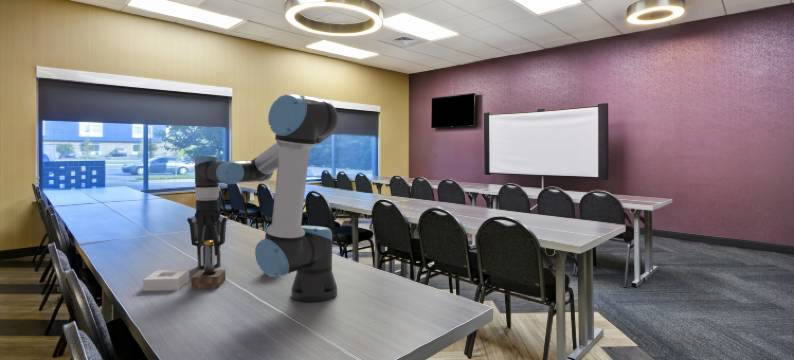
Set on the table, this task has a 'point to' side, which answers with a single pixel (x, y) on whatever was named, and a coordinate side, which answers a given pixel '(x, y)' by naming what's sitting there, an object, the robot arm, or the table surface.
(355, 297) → the table surface
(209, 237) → the water bottle
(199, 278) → the mount block
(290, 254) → the robot arm
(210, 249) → the pin
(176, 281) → the dock block
